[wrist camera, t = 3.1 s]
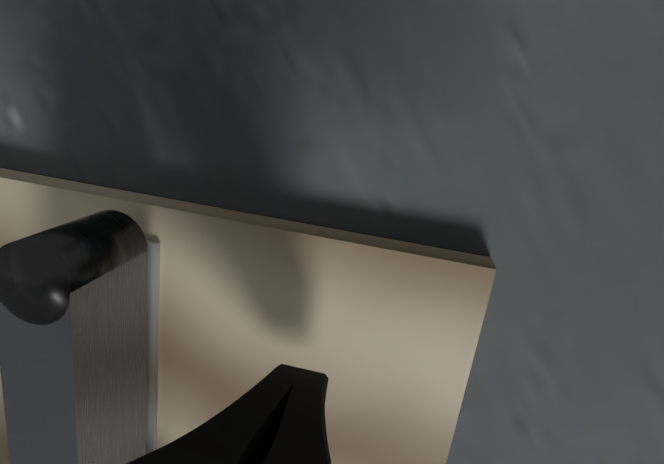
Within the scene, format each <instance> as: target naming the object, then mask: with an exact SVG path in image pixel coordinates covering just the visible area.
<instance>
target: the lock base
mask: <svg viewBox="0 0 664 464" xmlns="http://www.w3.org/2000/svg"><path fill="white" fill-rule="evenodd" d="M103 210H116V211H120V212H122V213H124V214H126V215H128V216H129V217H131V218H132V219H133V220H134V221H135V222H136V223H137V224H138V225H139V226H140V228H141V229H142V231H143V233H144V235H145V237H146V240H147V245H148V290H147V391H146V454H148V453H150V452H152V451H154V450H157V449H159V448H161V447H163V446H165V445H167V444H169V443H171V442H173V441H174V440H176V439H178V438H180V437H182V436H183V435H185V434H187V433H188V432H190V431H192V430H193V429H195V428H197V427H198V426H200V425H201V424H203V423H205V422H206V421H208V420H209V419H210V418H212V417H213V416H215V415H216V414H218V413H219V412H221V411H222V410H224V409H225V408H226V407H228V406H229V405H231V404H232V403H233V402H234V401H236V400H237V399H238V398H240V397H241V396H242V395H243V394H245V393H246V392H247V391H249V390H250V389H251V388H252V387H254V386H255V385H256V384H257V383H258V382H260V381H261V380H262V379H263V378H264V377H265V376H267V375H268V374H269V373H270V372H271V371H272V370H273V369H275V368H276V367H277V366H278V365H280V364H285V365H289V366H294V367H298V368H302V369H307V370H311V371H315V372H320V373H324V374H326V375H327V377H328V378H329V380H328V386H327V393H326V400H325V421H326V433H327V440H328V447H329V453H330V458H331V463H332V464H446V461H447V457H448V454H449V450H450V446H451V442H452V438H453V434H454V431H455V427H456V423H457V419H458V415H459V411H460V408H461V404H462V400H463V396H464V392H465V388H466V385H467V381H468V377H469V373H470V369H471V365H472V362H473V358H474V354H475V350H476V346H477V342H478V339H479V335H480V331H481V327H482V323H483V319H484V316H485V312H486V308H487V304H488V300H489V296H490V293H491V289H492V285H493V281H494V277H495V273H496V267H495V265H494V263H493V261H492V259H491V257H486V256H481V255H476V254H470V253H465V252H459V251H454V250H448V249H443V248H437V247H432V246H426V245H421V244H415V243H410V242H404V241H399V240H393V239H388V238H382V237H377V236H371V235H366V234H360V233H355V232H349V231H344V230H338V229H333V228H328V227H322V226H317V225H311V224H306V223H300V222H295V221H289V220H284V219H278V218H273V217H267V216H262V215H256V214H251V213H245V212H240V211H234V210H229V209H223V208H218V207H212V206H207V205H201V204H196V203H191V202H185V201H180V200H174V199H169V198H163V197H158V196H152V195H147V194H141V193H136V192H130V191H125V190H119V189H114V188H108V187H103V186H97V185H92V184H86V183H81V182H75V181H70V180H64V179H59V178H54V177H48V176H43V175H37V174H32V173H26V172H21V171H15V170H10V169H4V168H0V248H1V247H2V246H3V245H5V244H7V243H10V242H13V241H16V240H19V239H22V238H25V237H27V236H30V235H33V234H36V233H39V232H42V231H45V230H48V229H51V228H54V227H56V226H59V225H62V224H65V223H68V222H71V221H74V220H77V219H80V218H83V217H85V216H88V215H91V214H94V213H97V212H100V211H103ZM0 464H10V459H9V450H8V440H7V430H6V421H5V411H4V401H3V392H2V382H1V373H0Z"/></svg>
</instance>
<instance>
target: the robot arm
mask: <svg viewBox="0 0 664 464" xmlns="http://www.w3.org/2000/svg"><path fill="white" fill-rule="evenodd" d="M328 380H329V378H328V377H327V375H326V374H324V373H320V372H315V371H311V370H307V369H302V368H298V367H294V366H289V365H285V364H280V365H278V366H277V367H276V368H275V369H273V370H272V371H271V372H270V373H269V374H268V375H267V376H265V377H264V378H263V379H262V380H261V381H260V382H258V383H257V384H256V385H255V386H254V387H252V388H251V389H250V390H249V391H247V392H246V393H245V394H243V395H242V396H241V397H240V398H238V399H237V400H236V401H234V402H233V403H232V404H231V405H229V406H228V407H226V408H225V409H224V410H222V411H221V412H219V413H218V414H216V415H215V416H213V417H212V418H210V419H209V420H208V421H206V422H205V423H203V424H201V425H200V426H198V427H197V428H195V429H193V430H192V431H190V432H188V433H187V434H185V435H183V436H182V437H180V438H178V439H176V440H174V441H173V442H171V443H169V444H167V445H165V446H163V447H161V448H159V449H157V450H154V451H152V452H150V453H148V454H146V455H144V456H142V457H139V458H137V459H135V460H133V461H131V462H128V463H126V464H332V463H331V458H330V453H329V447H328V440H327V433H326V421H325V400H326V393H327V386H328Z"/></svg>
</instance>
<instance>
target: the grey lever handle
mask: <svg viewBox="0 0 664 464" xmlns="http://www.w3.org/2000/svg"><path fill="white" fill-rule="evenodd" d="M147 290H148V245H147V240H146V237H145V235H144V233H143V231H142V229H141V228H140V226H139V225H138V224H137V223H136V222H135V221H134V220H133V219H132V218H131V217H129V216H128V215H126V214H124V213H122V212H120V211H116V210H103V211H100V212H97V213H94V214H91V215H88V216H85V217H83V218H80V219H77V220H74V221H71V222H68V223H65V224H62V225H59V226H56V227H54V228H51V229H48V230H45V231H42V232H39V233H36V234H33V235H30V236H27V237H25V238H22V239H19V240H16V241H13V242H10V243H7V244H5V245H3V246H2V247H1V248H0V373H1V382H2V392H3V401H4V411H5V421H6V430H7V440H8V450H9V459H10V464H126V463H128V462H131V461H133V460H135V459H137V458H139V457H142V456H144V455H146V391H147Z"/></svg>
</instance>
